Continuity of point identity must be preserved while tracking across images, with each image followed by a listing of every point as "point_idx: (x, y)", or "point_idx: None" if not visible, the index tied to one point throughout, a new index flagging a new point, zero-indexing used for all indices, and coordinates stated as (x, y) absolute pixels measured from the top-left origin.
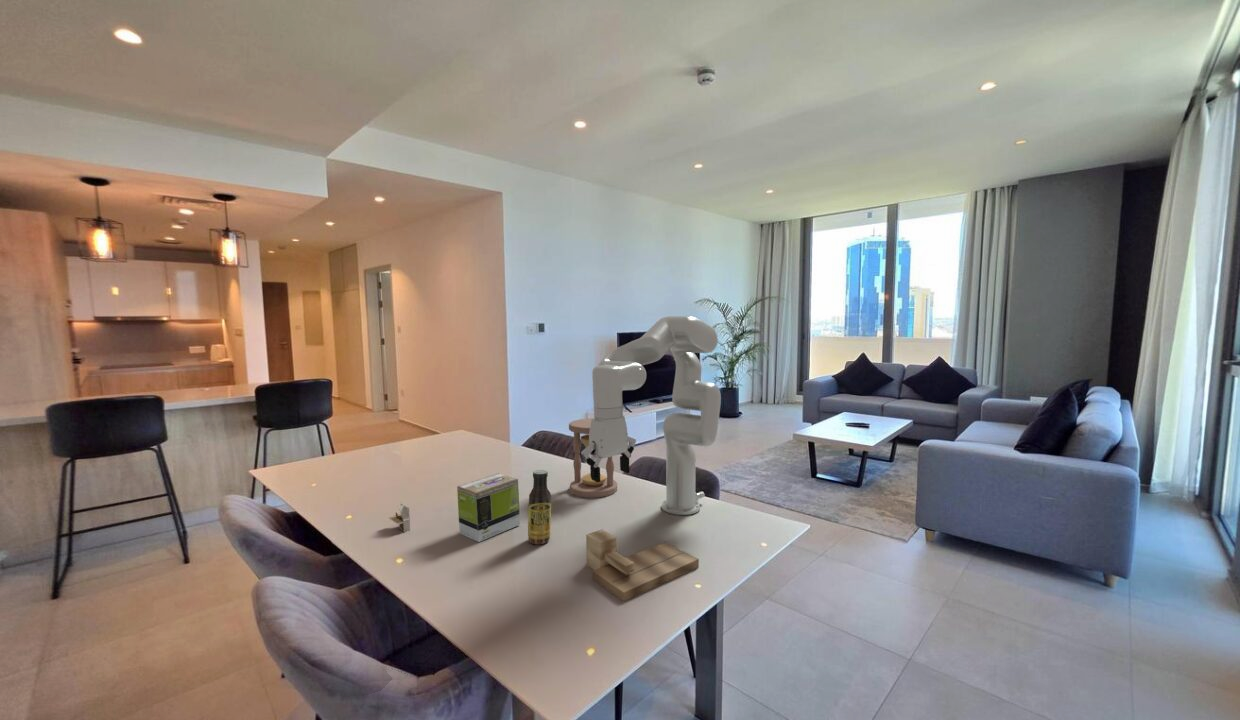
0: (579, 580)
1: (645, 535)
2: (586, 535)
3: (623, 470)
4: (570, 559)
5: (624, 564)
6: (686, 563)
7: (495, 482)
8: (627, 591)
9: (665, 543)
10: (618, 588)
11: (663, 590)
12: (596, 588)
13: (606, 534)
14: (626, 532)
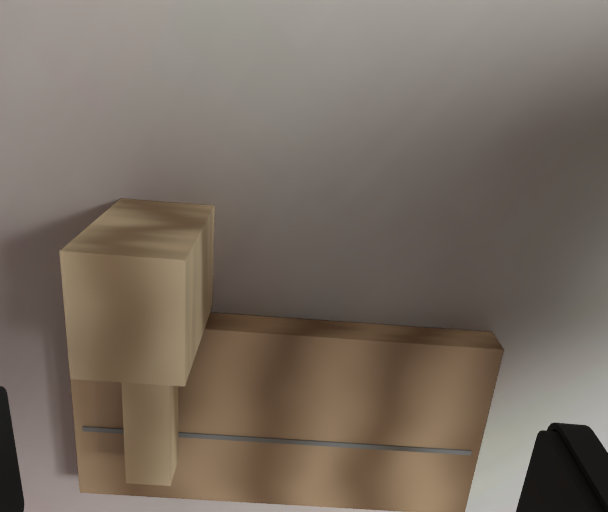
0: (27, 277)
1: (557, 166)
2: (61, 252)
3: (528, 503)
4: (84, 97)
5: (128, 472)
6: (401, 507)
7: None
8: (97, 492)
9: (492, 357)
10: (79, 467)
11: (240, 504)
12: (55, 360)
13: (162, 327)
14: (522, 61)
